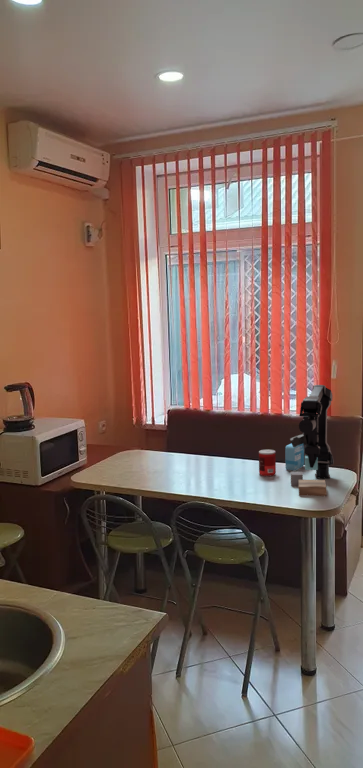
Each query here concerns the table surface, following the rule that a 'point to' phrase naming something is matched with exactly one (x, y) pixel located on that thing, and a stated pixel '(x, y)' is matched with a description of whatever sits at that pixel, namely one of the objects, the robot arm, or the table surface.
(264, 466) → the canned food
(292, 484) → the gray cube
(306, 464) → the teal cube
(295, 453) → the data package
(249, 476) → the table surface
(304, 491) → the walnut base block
